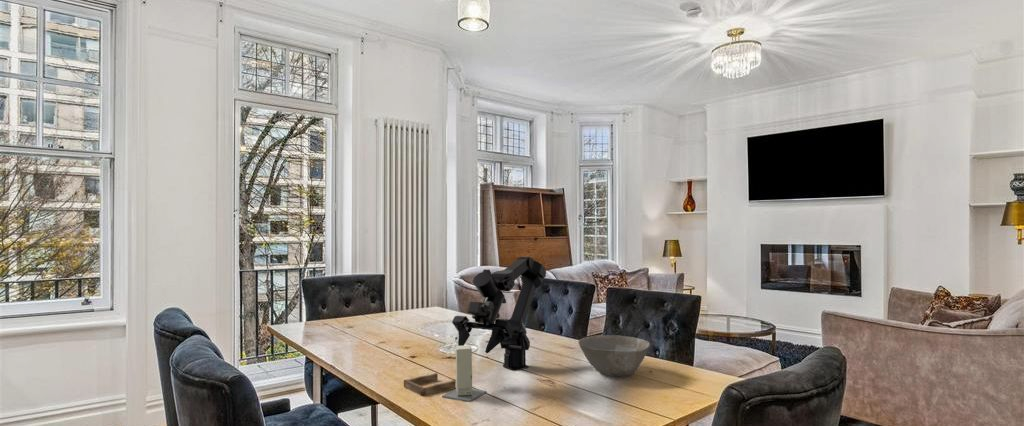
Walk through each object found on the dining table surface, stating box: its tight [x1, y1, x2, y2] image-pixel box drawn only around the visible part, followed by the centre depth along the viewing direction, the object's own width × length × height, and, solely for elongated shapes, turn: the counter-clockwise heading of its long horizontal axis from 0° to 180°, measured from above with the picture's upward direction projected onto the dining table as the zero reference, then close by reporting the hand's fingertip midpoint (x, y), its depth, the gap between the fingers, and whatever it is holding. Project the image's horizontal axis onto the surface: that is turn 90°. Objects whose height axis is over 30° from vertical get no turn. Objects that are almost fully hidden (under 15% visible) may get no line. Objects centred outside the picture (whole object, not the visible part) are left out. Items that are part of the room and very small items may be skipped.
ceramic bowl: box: [577, 334, 651, 377], centre depth 166 cm, size 22×23×10 cm
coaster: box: [441, 388, 487, 403], centre depth 147 cm, size 9×9×1 cm
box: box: [455, 344, 473, 396], centre depth 147 cm, size 5×4×13 cm
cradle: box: [403, 372, 456, 397], centre depth 154 cm, size 11×11×2 cm
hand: (472, 351), depth 151 cm, fingers open, 9 cm apart
